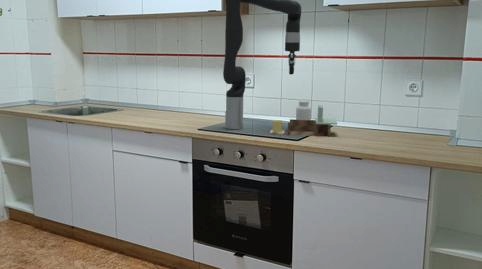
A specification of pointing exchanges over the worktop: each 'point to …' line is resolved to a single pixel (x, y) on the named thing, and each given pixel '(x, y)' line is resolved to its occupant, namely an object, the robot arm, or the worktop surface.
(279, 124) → the block
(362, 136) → the worktop surface
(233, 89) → the robot arm
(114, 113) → the worktop surface
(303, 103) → the pill bottle
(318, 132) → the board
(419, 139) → the worktop surface
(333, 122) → the pale grey l-shaped piece
